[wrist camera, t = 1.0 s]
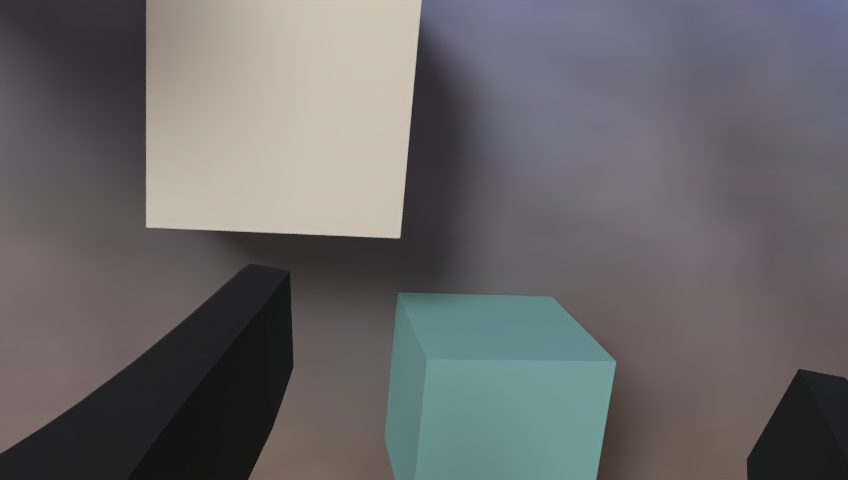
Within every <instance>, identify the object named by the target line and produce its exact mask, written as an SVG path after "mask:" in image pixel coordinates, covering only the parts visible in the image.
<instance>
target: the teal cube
mask: <svg viewBox="0 0 848 480" xmlns="http://www.w3.org/2000/svg"><path fill="white" fill-rule="evenodd" d="M615 367H616V361H615V360H614V359H613V358H612V357H611V356H610V355H609V354H608V353H607V352H606V351H605V350H604V349H603V348H602V347H601V346H600V345H599V343H598V342H597V341H596V340H595V339H594V338H593V337H592V336H591V335H590V334H589V333H588V332H587V331H586V330H585V329H584V328H583V327H582V326H581V325H580V324H579V323H578V322H577V321H576V320H575V319H574V318H573V317H572V316H571V315H570V314H569V313H568V312H567V311H566V310H565V309H564V308H563V307H562V306H561V305H560V304H559V303H558V302H557V301H556V300H555V299H554V298H553V297H541V296H507V295H473V294H439V293H404V292H398V295H397V306H396V317H395V328H394V339H393V350H392V361H391V373H390V384H389V395H388V406H387V417H386V428H385V442H386V446H387V450H388V454H389V458H390V462H391V466H392V470H393V474H394V478H395V480H596V478H597V472H598V466H599V460H600V454H601V449H602V443H603V437H604V431H605V425H606V419H607V414H608V408H609V402H610V396H611V390H612V384H613V379H614V373H615Z"/></svg>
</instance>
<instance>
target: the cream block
mask: <svg viewBox="0 0 848 480" xmlns="http://www.w3.org/2000/svg"><path fill="white" fill-rule="evenodd" d="M420 11H421V0H146V227H148V228H171V229H195V230H218V231H241V232H264V233H287V234H310V235H333V236H357V237H380V238H400V234H401V223H402V212H403V201H404V190H405V179H406V167H407V156H408V145H409V134H410V123H411V112H412V101H413V89H414V78H415V67H416V56H417V45H418V34H419V22H420Z"/></svg>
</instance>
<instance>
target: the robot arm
mask: <svg viewBox="0 0 848 480" xmlns="http://www.w3.org/2000/svg"><path fill="white" fill-rule="evenodd" d="M292 370H293V342H292V315H291V289H290V271H285V270H280V269H275V268H270V267H264V266H259V265H254V264H249V265H247V266H246V267H244V268H243V269H242V270H240V271H239V272H238V273H237V274H236V275H235V276H234V277H233V278H231V279H230V280H229V281H228V282H227V283H226V284H225V285H224V286H222V287H221V288H220V289H219V290H218V291H217V292H216V293H215V294H213V295H212V296H211V297H210V298H209V299H208V300H207V301H206V302H204V303H203V304H202V305H201V306H200V307H199V308H198V309H196V310H195V311H194V312H193V313H192V314H191V315H189V316H188V317H187V318H186V319H185V320H184V321H182V322H181V323H180V324H179V325H178V326H177V327H175V328H174V329H173V330H172V331H170V332H169V333H168V334H167V335H166V336H164V337H163V338H162V339H161V340H159V341H158V342H157V343H156V344H155V345H153V346H152V347H151V348H150V349H148V350H147V351H146V352H145V353H144V354H142V355H141V356H140V357H139V358H137V359H136V360H135V361H134V362H132V363H131V364H130V365H129V366H127V367H126V368H125V369H123V370H122V371H121V372H119V373H118V374H116V375H115V376H114V377H112V378H111V379H110V380H108V381H107V382H106V383H104V384H103V385H102V386H100V387H99V388H98V389H96V390H95V391H94V392H92V393H91V394H90V395H88V396H87V397H86V398H84V399H83V400H82V401H80V402H79V403H77V404H76V405H74V406H73V407H72V408H70V409H69V410H67V411H66V412H64V413H63V414H61V415H60V416H59V417H57V418H56V419H54V420H53V421H51V422H50V423H48V424H47V425H45V426H44V427H42V428H41V429H39V430H38V431H36V432H34V433H33V434H31V435H30V436H28V437H27V438H25V439H23V440H22V441H20V442H19V443H17V444H16V445H14V446H12V447H11V448H9V449H8V450H6V451H4V452H3V453H1V454H0V480H248V478H249V476H250V474H251V472H252V470H253V468H254V466H255V464H256V462H257V460H258V458H259V455H260V453H261V451H262V449H263V447H264V445H265V443H266V441H267V439H268V437H269V434H270V432H271V430H272V428H273V425H274V422H275V419H276V417H277V414H278V411H279V408H280V405H281V403H282V400H283V397H284V394H285V391H286V388H287V385H288V382H289V379H290V376H291V373H292ZM747 477H748V480H848V381H847V379H846V378H843V377H838V376H833V375H828V374H823V373H817V372H812V371H807V370H802V369H799V370H798V372H797V373H796V375H795V377H794V378H793V380H792V382H791V384H790V385H789V387H788V389H787V391H786V392H785V394H784V396H783V398H782V399H781V401H780V403H779V405H778V406H777V408H776V410H775V411H774V413H773V415H772V417H771V418H770V420H769V422H768V424H767V425H766V427H765V429H764V431H763V432H762V434H761V436H760V438H759V439H758V441H757V443H756V445H755V446H754V448H753V450H752V451H751V453H750V455H749V457H748V458H747Z"/></svg>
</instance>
